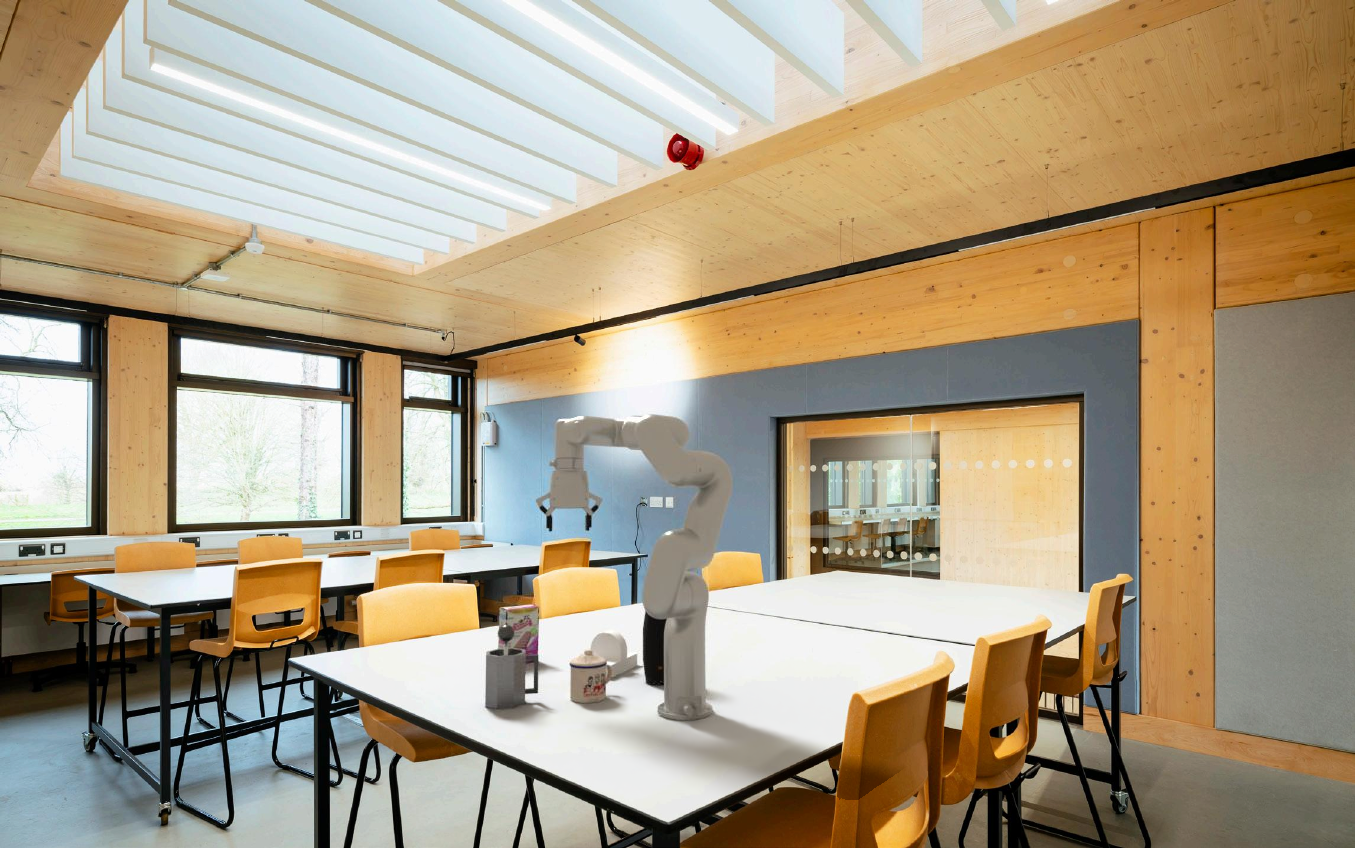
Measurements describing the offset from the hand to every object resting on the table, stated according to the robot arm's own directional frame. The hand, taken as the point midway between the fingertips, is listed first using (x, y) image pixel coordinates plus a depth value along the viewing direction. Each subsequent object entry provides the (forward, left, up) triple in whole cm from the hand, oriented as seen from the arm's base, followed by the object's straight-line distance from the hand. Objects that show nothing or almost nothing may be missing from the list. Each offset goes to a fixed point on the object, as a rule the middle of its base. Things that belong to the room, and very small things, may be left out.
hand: (569, 530), depth 195 cm
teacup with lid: (-10, -5, -40) cm, 42 cm away
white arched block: (+17, -13, -41) cm, 46 cm away
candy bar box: (+33, +12, -40) cm, 54 cm away
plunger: (-10, +16, -38) cm, 42 cm away
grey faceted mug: (-10, +14, -40) cm, 44 cm away
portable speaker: (0, -24, -40) cm, 47 cm away
